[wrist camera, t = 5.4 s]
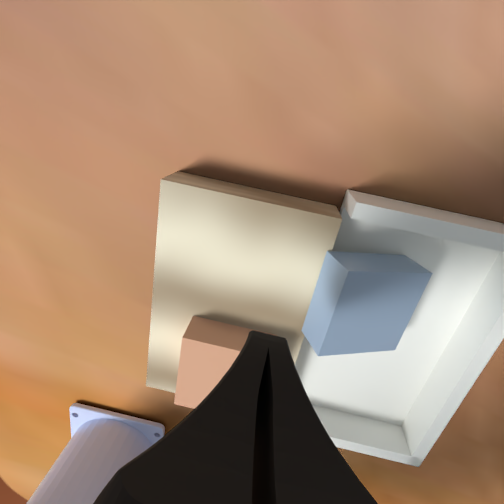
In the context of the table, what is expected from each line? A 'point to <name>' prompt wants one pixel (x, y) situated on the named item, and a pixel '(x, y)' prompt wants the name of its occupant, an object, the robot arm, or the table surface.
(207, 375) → the terracotta tile
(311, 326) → the slate tile
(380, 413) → the tray
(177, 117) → the table surface
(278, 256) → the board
